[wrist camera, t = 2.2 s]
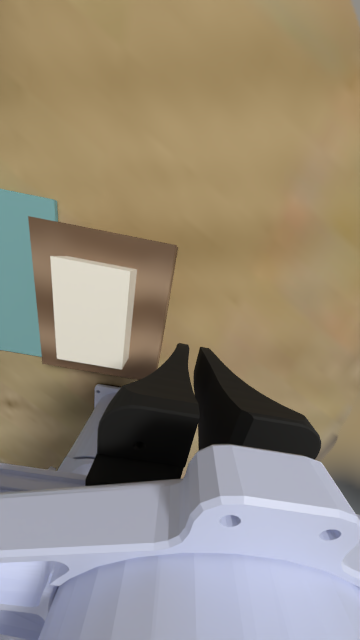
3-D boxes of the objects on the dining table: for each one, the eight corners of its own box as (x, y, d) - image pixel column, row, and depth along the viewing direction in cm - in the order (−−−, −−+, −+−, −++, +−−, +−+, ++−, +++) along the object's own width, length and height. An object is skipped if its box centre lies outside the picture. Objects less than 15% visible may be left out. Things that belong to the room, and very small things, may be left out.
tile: (128, 358, 18) (122, 369, 16) (70, 348, 18) (56, 358, 16) (137, 269, 15) (130, 271, 13) (67, 256, 15) (50, 255, 13)
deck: (158, 361, 23) (153, 382, 19) (66, 345, 23) (42, 363, 19) (177, 247, 18) (176, 245, 15) (61, 224, 18) (28, 215, 14)
